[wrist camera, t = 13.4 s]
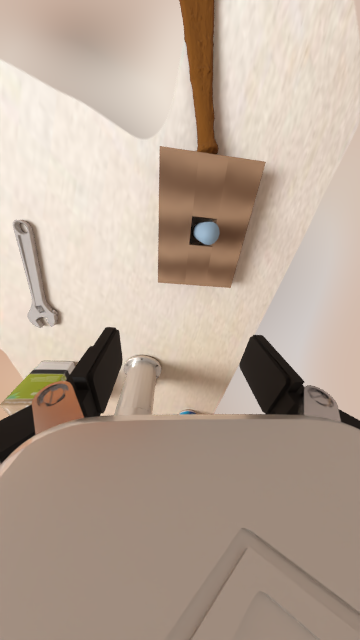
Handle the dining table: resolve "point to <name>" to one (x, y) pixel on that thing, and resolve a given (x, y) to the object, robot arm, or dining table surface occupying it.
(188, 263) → the hole block
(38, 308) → the adjustable wrench
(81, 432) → the robot arm
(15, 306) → the dining table surface
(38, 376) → the tea box
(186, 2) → the primitive tool
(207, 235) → the peg
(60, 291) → the dining table surface
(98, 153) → the dining table surface
